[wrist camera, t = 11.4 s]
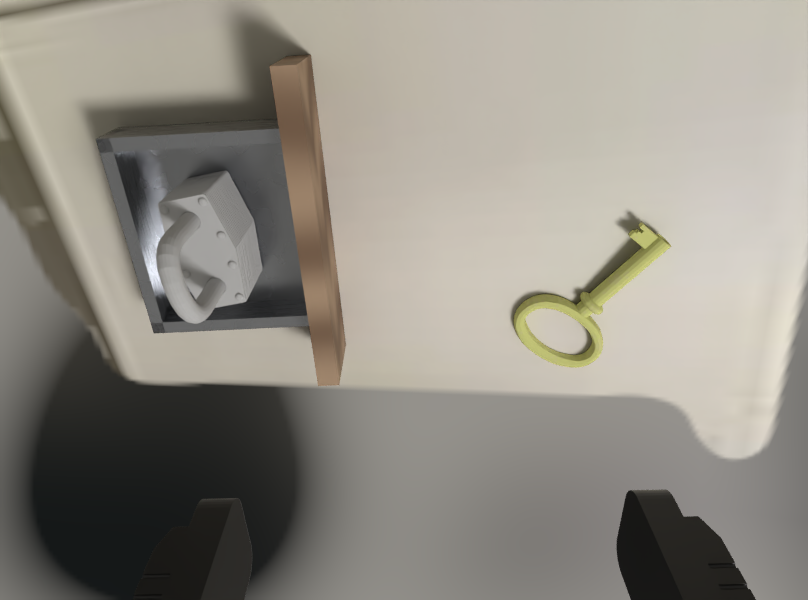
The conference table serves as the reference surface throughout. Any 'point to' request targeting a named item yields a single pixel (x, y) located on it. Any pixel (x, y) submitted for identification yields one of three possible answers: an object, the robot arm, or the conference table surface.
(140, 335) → the conference table surface
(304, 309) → the grey metal tray
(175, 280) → the padlock
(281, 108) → the door strip
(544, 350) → the key
